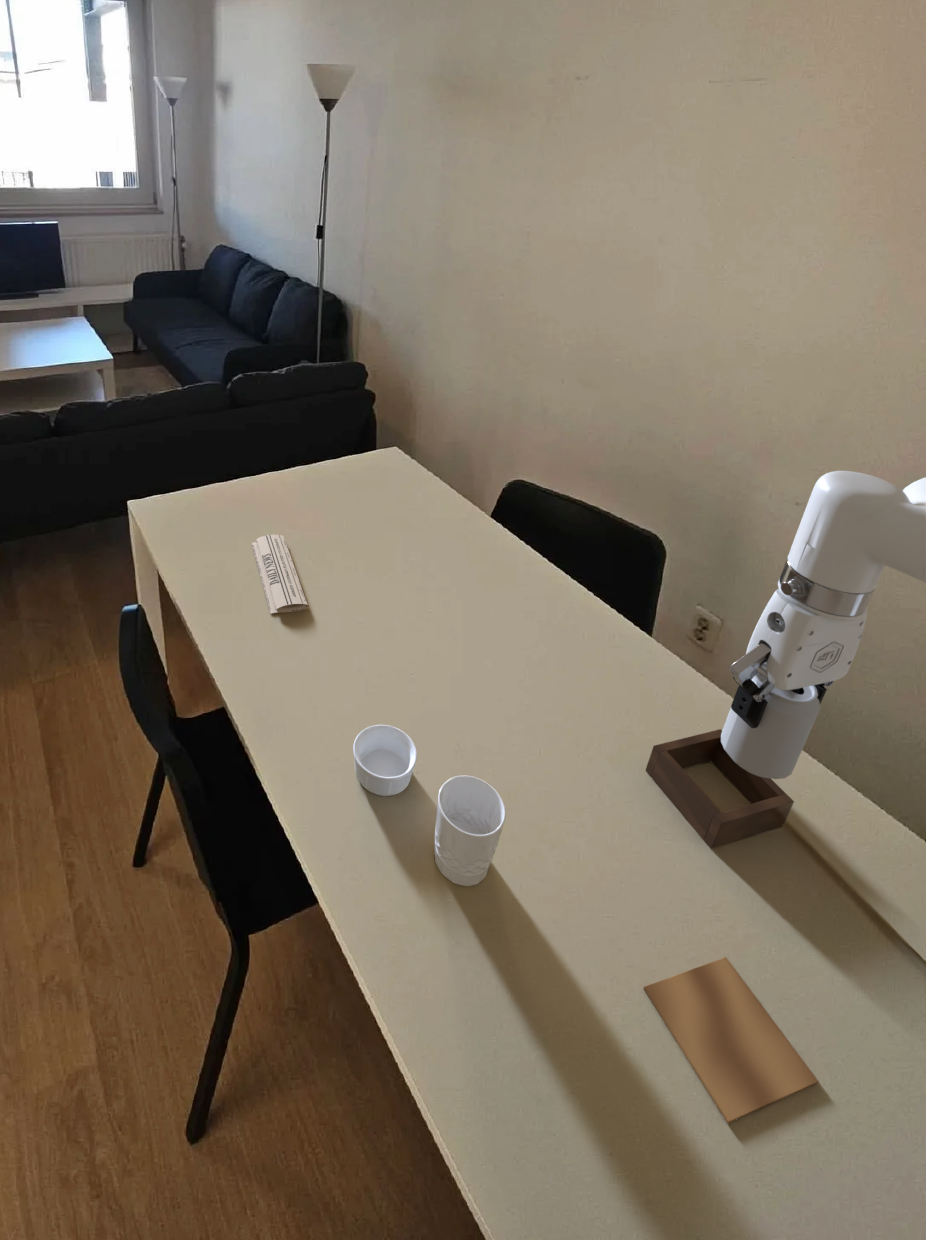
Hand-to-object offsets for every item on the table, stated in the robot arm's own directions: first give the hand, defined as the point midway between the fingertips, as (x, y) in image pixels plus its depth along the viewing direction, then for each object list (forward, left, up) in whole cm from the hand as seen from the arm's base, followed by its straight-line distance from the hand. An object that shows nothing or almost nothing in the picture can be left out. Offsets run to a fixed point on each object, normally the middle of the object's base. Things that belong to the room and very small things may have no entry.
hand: (772, 711), depth 77 cm
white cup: (+33, -7, -24) cm, 41 cm away
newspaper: (+42, -69, -24) cm, 84 cm away
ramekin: (+38, -21, -24) cm, 49 cm away
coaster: (+15, +16, -24) cm, 32 cm away
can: (0, 0, -8) cm, 8 cm away
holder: (-5, -6, -24) cm, 25 cm away
